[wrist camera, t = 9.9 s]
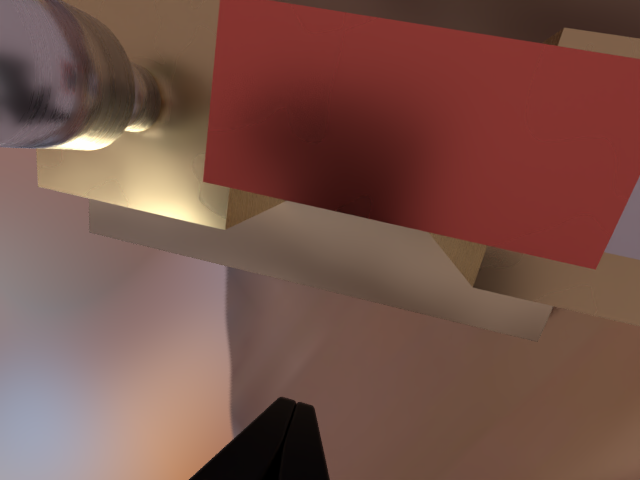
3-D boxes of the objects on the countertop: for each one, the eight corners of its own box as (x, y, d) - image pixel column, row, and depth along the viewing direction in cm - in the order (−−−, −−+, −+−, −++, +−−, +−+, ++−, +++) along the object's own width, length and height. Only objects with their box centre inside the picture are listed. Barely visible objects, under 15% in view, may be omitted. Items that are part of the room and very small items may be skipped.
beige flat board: (521, 324, 15) (537, 341, 14) (112, 226, 17) (89, 232, 16) (647, 21, 12) (686, 2, 10) (115, -53, 14) (85, -78, 12)
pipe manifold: (566, 263, 13) (1067, 524, 4) (70, 154, 15) (-400, 145, 6) (628, 119, 11) (1769, -66, 2) (66, 23, 14) (-570, -265, 4)
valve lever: (864, 142, 5) (1256, 129, 3) (763, 296, 5) (1013, 382, 3) (277, 42, 6) (222, -28, 4) (257, 184, 6) (201, 195, 4)
